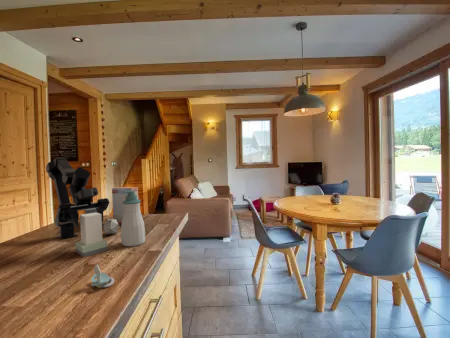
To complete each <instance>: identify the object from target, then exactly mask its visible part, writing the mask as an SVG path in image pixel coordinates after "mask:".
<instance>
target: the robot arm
mask: <svg viewBox="0 0 450 338" xmlns="http://www.w3.org/2000/svg"><path fill="white" fill-rule="evenodd" d="M45 172H46V174H48V177H49V179H51V180H52V181H53V183H54V188H55V191H56V192H55V193H56V196H57V201H58V206H57V210H56V215H55V219H54V223H55V224H54V225H55V226H56V227H57V228H58V227H59V235H57V236H56V238H59V239H62V240H65V239H70V238H73V237H77V236H78V234H77V233H75V227H76V228H79V226H80V224H79V218H80V213H79V211H85V210H86V209H93V208H96V210H97V213H99V214H101V217H102V223H103V222H104V212H105V211H106V210H107V209H108V207H109V204H110V201H109V199H108V198H99V199H97V201H96V202H97V203H96V202H93V200H94V199H93V198H94V197H96V196H98V194H99V191H98V188H97V187H91V188H85V187H87V186H88V183H89V179H90V177H91V172H90V171H89V170H87V169H85V168H83V167H82V166H80V167H79V166H77V168H76V169H75V168H73V167H72V166H71V164H70V163H69V161H68V159H67V158H66V157H56V158H54V159H53V160H51V161H49V162H48V163H47V164H46V166H45ZM67 186H69V187H67ZM69 195H70V196H71V198H72V203H71V199H70V196H69ZM91 203H93V204H91Z"/></svg>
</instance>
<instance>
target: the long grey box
mask: <svg viewBox="0 0 450 338" xmlns="http://www.w3.org/2000/svg"><path fill="white" fill-rule="evenodd" d="M93 203H94V202H91V204H93ZM95 203H97V201H96V202H95ZM95 212H96V213H97V210H96V208H93V209H86V210H84V214H89V213H95ZM103 225H104V223H102V226H103Z"/></svg>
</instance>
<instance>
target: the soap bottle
mask: <svg viewBox="0 0 450 338" xmlns="http://www.w3.org/2000/svg"><path fill="white" fill-rule="evenodd" d="M122 193H128V196H126V200H125V201H123V203H124V215H123V220H122V224H120V226H121V227H120V228H121V229H120V241H121V244H122V246H123V247H124V246H125V247H136V246H140V245H142V244H144V243H145V241H146V230H145V221H144V219H143V216H142V212H141V199H139V198H138V199H137V195H135V191H127V192H122Z"/></svg>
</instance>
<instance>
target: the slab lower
mask: <svg viewBox="0 0 450 338" xmlns="http://www.w3.org/2000/svg"><path fill="white" fill-rule="evenodd" d="M106 251H109V246H108V245H107V247H104V248H100V249H96V250H93V251H89V252H85V253H82V252H81V251H79V250H78V249H76V248H75V253H77V254H79V255H80V256H82V257H83V258H86V257H89V256H93V255H96V254H99V253H103V252H106Z"/></svg>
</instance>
